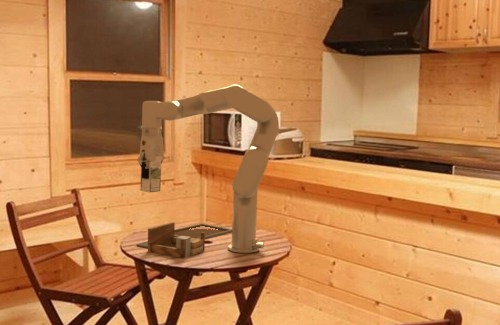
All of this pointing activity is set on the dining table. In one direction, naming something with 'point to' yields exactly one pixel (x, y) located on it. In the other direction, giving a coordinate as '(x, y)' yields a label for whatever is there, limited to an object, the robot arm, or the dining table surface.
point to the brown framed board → (197, 232)
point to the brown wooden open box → (167, 240)
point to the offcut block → (187, 244)
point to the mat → (143, 244)
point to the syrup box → (152, 177)
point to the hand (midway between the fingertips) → (150, 177)
